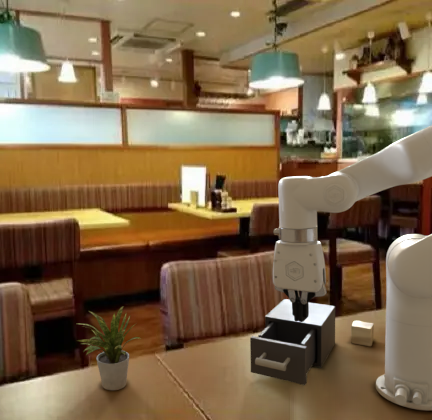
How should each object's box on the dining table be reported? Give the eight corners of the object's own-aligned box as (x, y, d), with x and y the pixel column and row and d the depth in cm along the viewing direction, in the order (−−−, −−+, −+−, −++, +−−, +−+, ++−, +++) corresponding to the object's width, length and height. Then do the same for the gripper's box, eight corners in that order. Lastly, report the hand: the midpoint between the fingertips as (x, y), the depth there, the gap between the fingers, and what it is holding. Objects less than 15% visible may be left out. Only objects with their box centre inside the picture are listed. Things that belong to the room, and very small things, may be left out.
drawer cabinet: (321, 368, 99) (321, 325, 98) (265, 355, 106) (265, 316, 105) (335, 343, 111) (335, 306, 110) (284, 334, 118) (284, 298, 117)
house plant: (92, 365, 105) (88, 298, 103) (149, 367, 103) (146, 298, 101) (72, 397, 91) (67, 320, 89) (138, 400, 89) (134, 321, 87)
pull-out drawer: (298, 396, 86) (298, 357, 85) (242, 381, 92) (241, 345, 92) (320, 359, 101) (321, 325, 100) (271, 348, 108) (270, 317, 107)
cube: (370, 346, 109) (371, 329, 108) (351, 343, 111) (351, 325, 111) (373, 340, 113) (373, 323, 112) (354, 336, 115) (354, 320, 115)
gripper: (257, 236, 95) (260, 319, 96) (330, 240, 85) (331, 332, 87) (271, 231, 100) (274, 309, 102) (340, 234, 91) (342, 320, 93)
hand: (300, 319), depth 95 cm, fingers closed
